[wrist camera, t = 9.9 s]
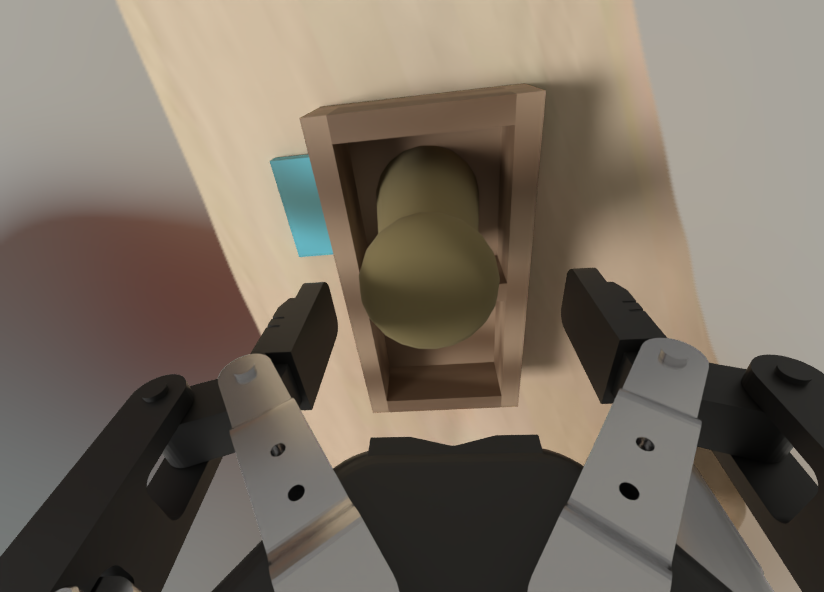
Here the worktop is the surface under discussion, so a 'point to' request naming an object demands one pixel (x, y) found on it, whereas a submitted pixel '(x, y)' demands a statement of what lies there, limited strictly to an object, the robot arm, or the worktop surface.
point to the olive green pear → (428, 252)
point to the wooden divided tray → (358, 226)
